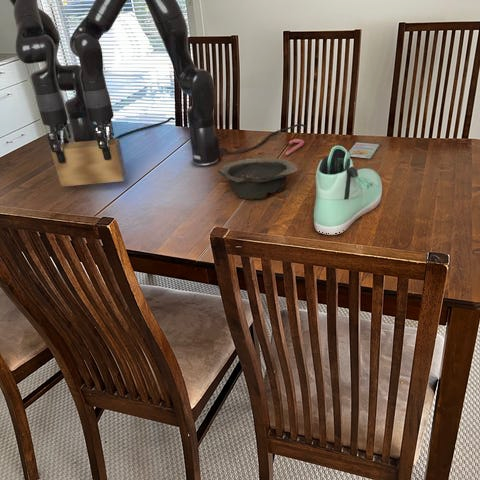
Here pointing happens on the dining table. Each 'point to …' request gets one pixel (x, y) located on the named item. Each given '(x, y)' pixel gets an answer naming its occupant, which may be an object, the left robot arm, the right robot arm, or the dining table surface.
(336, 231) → the sneaker
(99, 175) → the box
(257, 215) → the dining table surface
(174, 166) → the dining table surface
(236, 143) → the dining table surface
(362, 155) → the baking ingredient package
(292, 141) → the candy cane
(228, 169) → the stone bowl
